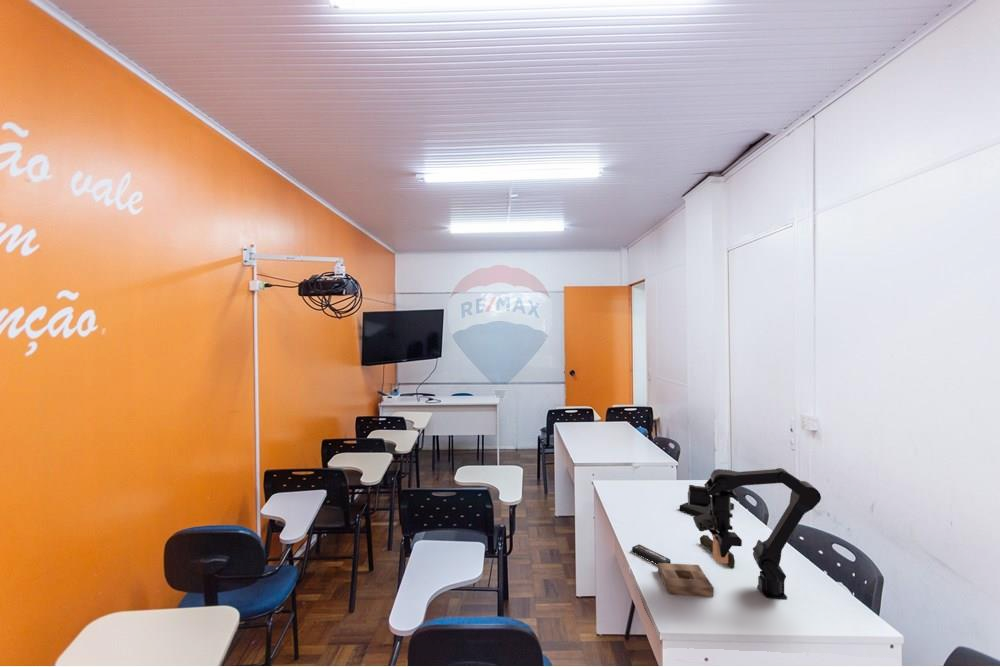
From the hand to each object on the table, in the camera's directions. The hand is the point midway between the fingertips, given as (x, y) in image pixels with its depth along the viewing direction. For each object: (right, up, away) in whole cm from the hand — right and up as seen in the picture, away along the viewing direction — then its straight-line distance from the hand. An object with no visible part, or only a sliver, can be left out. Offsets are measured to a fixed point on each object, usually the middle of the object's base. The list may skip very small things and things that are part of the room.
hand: (720, 554), depth 150 cm
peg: (0, -2, 0) cm, 2 cm away
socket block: (-12, -11, +1) cm, 16 cm away
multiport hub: (-17, -11, +18) cm, 28 cm away
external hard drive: (+25, -11, +64) cm, 69 cm away
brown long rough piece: (+10, -11, +20) cm, 25 cm away
